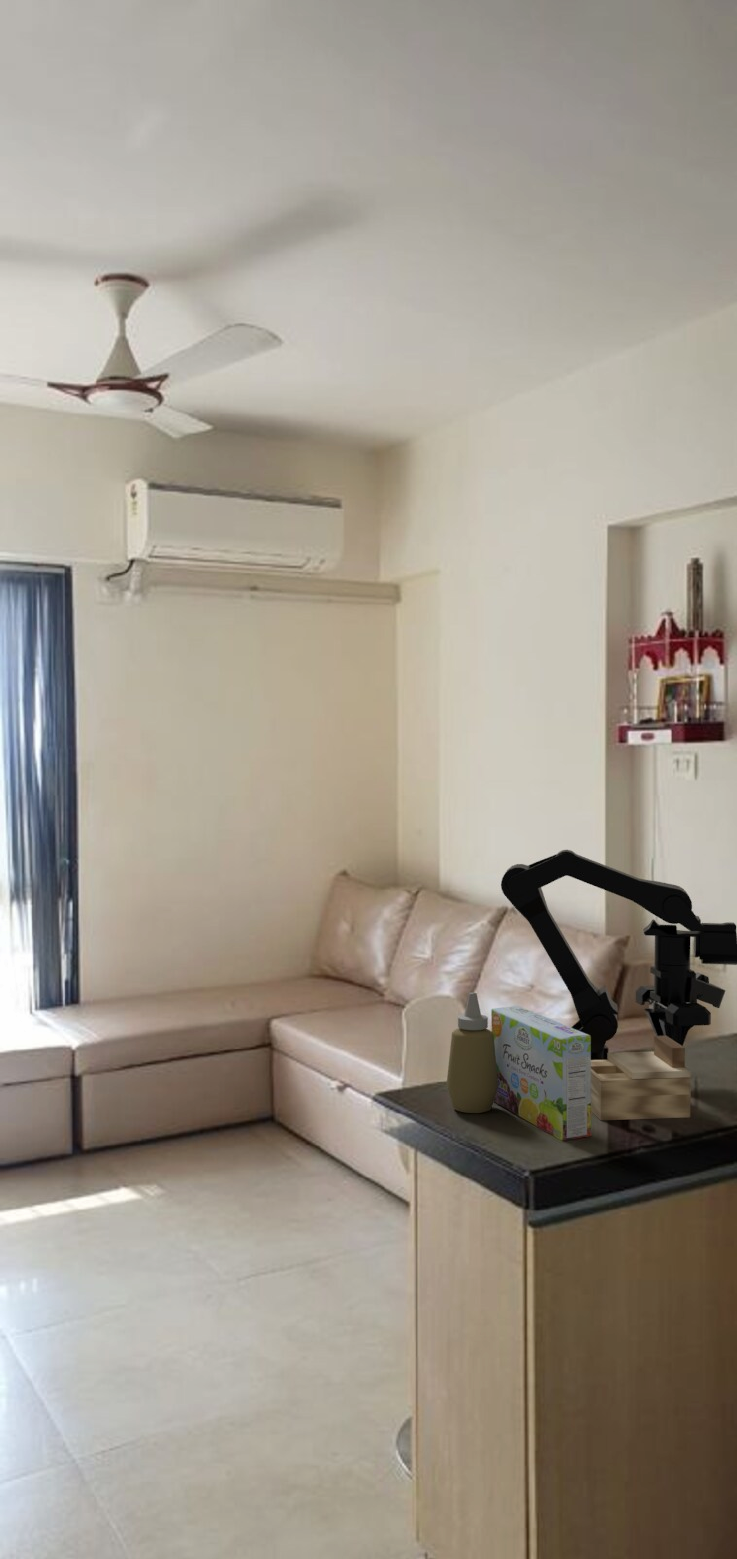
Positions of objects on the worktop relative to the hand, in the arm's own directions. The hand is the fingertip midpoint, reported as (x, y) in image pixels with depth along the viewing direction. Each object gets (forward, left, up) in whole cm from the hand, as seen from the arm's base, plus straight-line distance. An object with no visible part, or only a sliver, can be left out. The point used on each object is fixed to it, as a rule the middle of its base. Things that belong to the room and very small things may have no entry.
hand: (671, 1057), depth 207 cm
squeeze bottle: (-35, -8, -5) cm, 36 cm away
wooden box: (-10, -10, -5) cm, 15 cm away
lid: (-8, -10, +1) cm, 13 cm away
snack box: (-26, -14, -5) cm, 30 cm away
